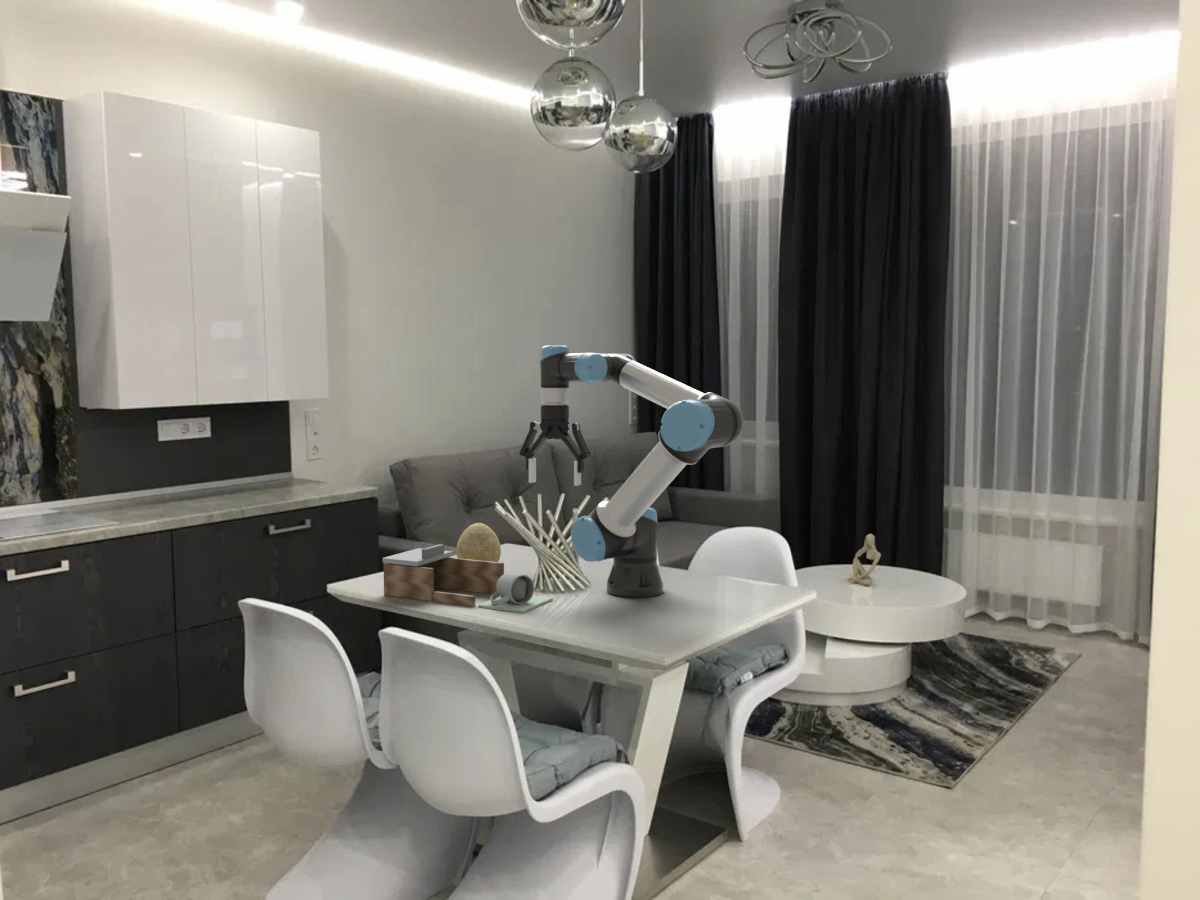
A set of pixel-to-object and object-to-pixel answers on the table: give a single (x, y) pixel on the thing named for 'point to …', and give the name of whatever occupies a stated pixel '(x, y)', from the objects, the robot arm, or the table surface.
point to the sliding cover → (419, 556)
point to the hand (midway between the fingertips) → (554, 483)
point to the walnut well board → (442, 579)
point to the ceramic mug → (513, 589)
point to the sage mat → (514, 607)
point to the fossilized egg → (479, 544)
